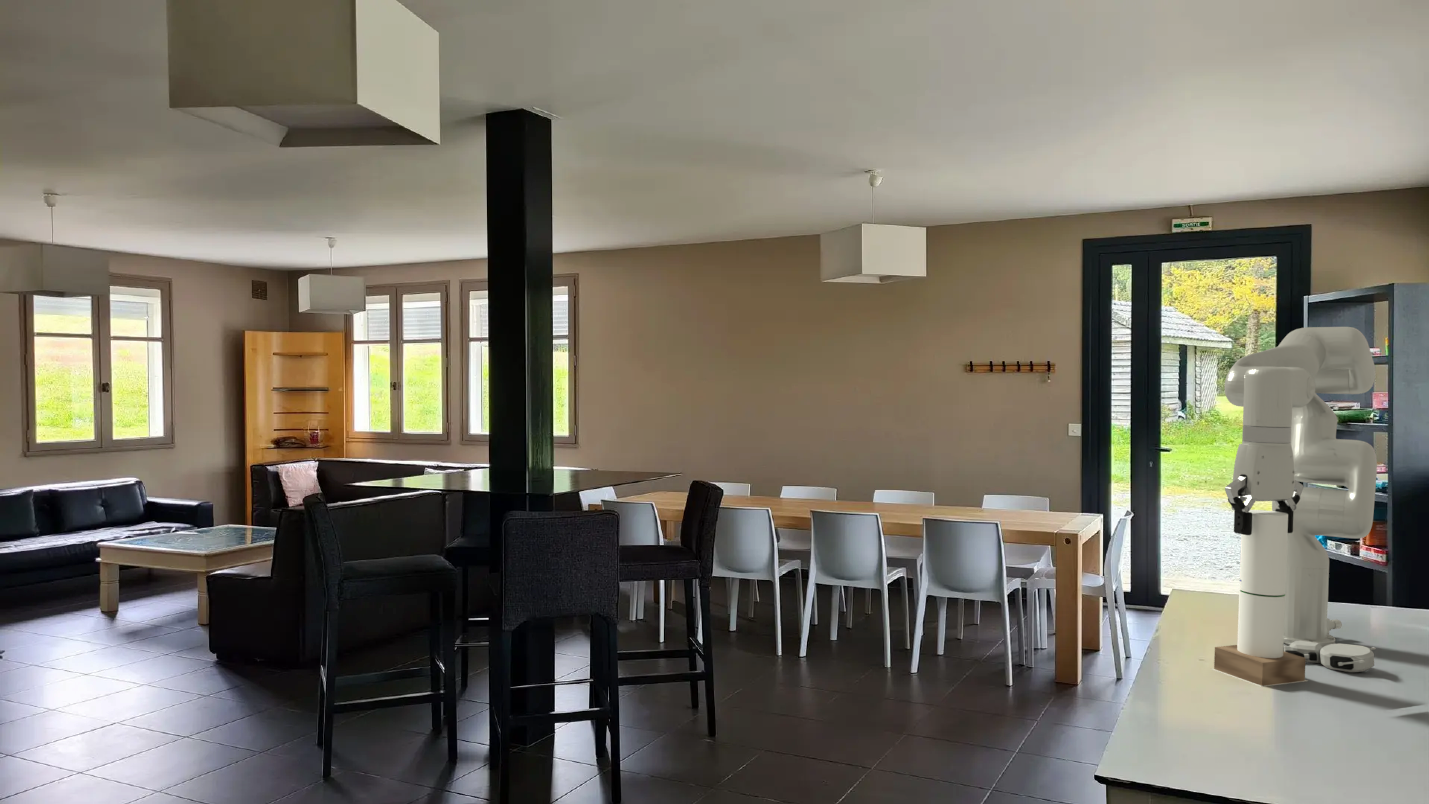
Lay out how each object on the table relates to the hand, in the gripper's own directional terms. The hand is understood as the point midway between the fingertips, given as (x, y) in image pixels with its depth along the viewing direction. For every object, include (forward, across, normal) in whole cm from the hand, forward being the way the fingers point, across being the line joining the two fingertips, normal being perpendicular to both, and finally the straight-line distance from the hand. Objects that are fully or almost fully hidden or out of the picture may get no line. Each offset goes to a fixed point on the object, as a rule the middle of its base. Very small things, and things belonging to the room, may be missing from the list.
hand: (1263, 532), depth 172 cm
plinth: (+25, 0, 0) cm, 25 cm away
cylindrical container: (+22, 0, 0) cm, 22 cm away
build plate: (+26, 0, 0) cm, 26 cm away
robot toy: (+27, -19, -2) cm, 33 cm away
